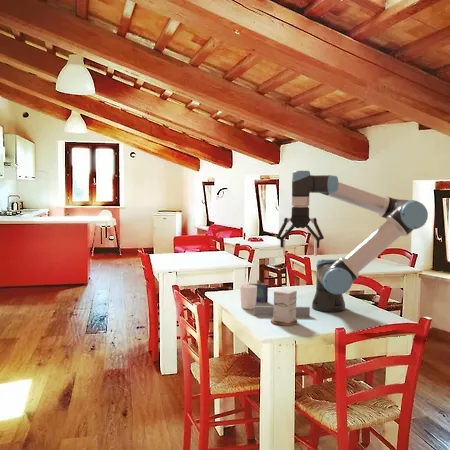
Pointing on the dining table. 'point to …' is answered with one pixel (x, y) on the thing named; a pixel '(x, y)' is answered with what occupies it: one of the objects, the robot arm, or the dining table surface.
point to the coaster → (284, 323)
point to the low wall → (269, 310)
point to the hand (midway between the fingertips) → (299, 255)
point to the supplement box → (284, 305)
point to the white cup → (248, 296)
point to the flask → (261, 291)
